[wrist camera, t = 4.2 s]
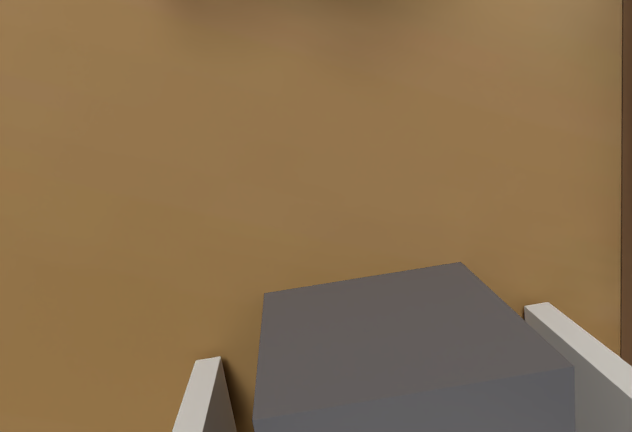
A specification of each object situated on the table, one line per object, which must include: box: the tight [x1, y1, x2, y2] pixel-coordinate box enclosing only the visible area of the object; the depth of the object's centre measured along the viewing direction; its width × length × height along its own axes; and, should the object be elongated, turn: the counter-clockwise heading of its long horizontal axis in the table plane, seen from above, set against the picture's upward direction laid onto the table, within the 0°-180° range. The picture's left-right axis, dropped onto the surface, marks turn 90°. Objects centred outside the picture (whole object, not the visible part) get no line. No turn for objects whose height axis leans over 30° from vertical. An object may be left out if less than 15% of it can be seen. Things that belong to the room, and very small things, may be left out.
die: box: [252, 262, 575, 432], centre depth 12 cm, size 6×6×6 cm
